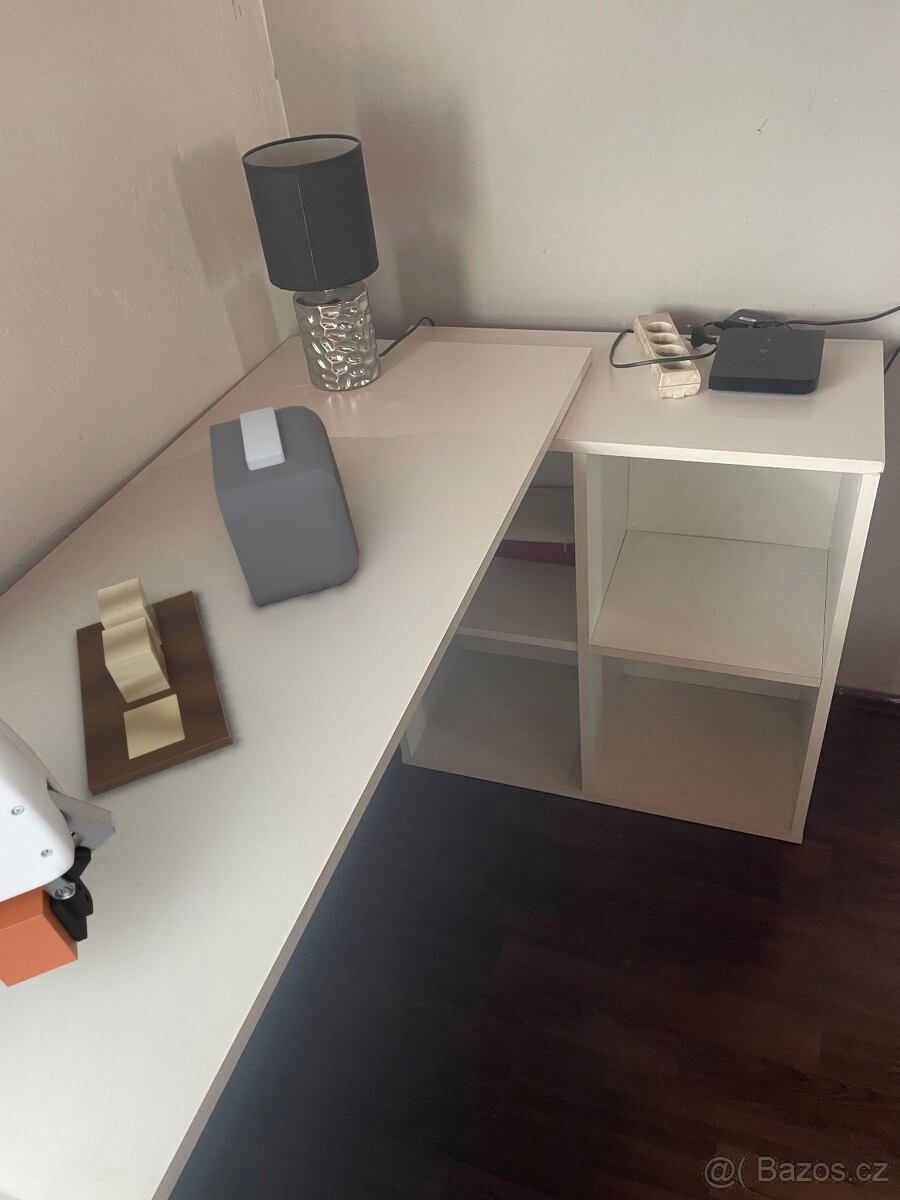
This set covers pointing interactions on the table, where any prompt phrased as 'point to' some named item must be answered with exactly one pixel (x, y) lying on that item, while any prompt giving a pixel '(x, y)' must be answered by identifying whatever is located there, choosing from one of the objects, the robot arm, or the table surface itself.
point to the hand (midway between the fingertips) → (40, 934)
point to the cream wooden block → (135, 659)
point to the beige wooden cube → (126, 605)
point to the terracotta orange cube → (32, 938)
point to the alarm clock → (283, 502)
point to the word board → (151, 703)
